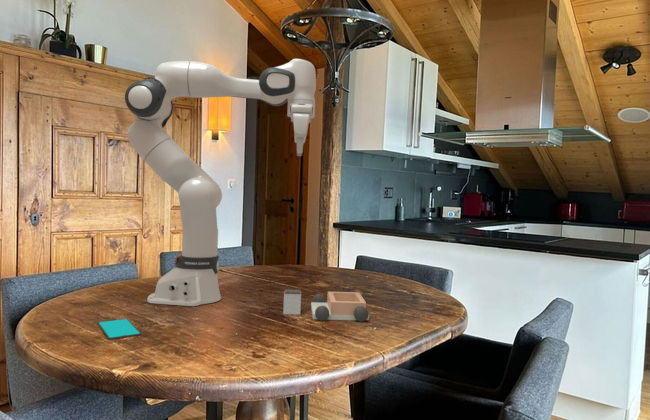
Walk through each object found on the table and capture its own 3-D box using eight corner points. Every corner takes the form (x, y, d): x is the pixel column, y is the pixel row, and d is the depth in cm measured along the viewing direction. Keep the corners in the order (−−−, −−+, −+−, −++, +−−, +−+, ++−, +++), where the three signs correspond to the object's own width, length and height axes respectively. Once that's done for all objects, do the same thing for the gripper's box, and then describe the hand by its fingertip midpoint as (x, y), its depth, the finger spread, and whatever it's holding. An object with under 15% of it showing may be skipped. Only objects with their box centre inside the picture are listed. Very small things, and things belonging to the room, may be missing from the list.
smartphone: (127, 318, 124) (141, 333, 111) (127, 321, 124) (141, 336, 111) (96, 322, 119) (108, 338, 107) (96, 325, 119) (108, 341, 107)
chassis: (313, 320, 130) (313, 303, 129) (310, 305, 147) (311, 290, 146) (369, 322, 131) (370, 304, 131) (361, 306, 148) (361, 291, 148)
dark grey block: (283, 314, 136) (284, 292, 135) (283, 310, 140) (284, 289, 139) (300, 314, 136) (301, 292, 136) (300, 311, 140) (300, 289, 140)
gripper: (291, 116, 159) (289, 156, 159) (291, 105, 139) (289, 151, 139) (309, 116, 159) (308, 157, 160) (312, 106, 139) (310, 152, 140)
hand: (299, 154), depth 149 cm, fingers open, 8 cm apart
